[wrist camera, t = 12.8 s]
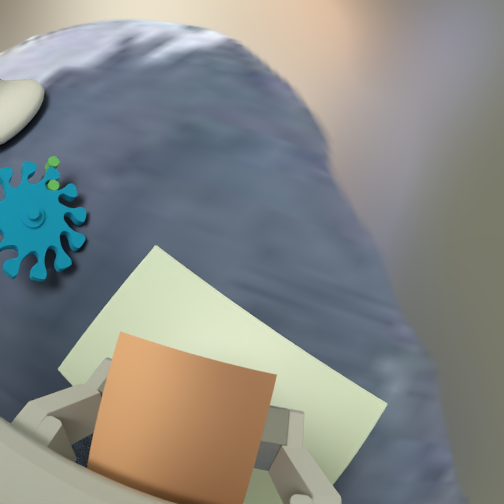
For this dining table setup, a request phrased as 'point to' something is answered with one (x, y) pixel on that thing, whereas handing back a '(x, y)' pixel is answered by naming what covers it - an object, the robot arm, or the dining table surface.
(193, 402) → the peg
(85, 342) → the mat
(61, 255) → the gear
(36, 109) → the flower in vase
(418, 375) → the dining table surface
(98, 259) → the dining table surface
